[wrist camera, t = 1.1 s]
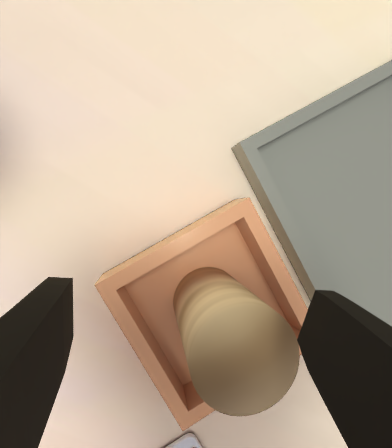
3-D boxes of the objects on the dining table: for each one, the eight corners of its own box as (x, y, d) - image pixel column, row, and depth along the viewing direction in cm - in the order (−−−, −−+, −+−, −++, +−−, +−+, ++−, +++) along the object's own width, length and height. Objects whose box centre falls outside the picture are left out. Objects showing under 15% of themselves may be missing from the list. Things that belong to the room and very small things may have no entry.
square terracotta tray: (299, 322, 21) (323, 340, 18) (177, 398, 20) (182, 431, 17) (234, 199, 20) (249, 197, 17) (103, 273, 19) (94, 285, 16)
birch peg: (252, 311, 20) (317, 376, 12) (194, 347, 20) (223, 438, 12) (220, 254, 20) (267, 282, 12) (160, 289, 19) (168, 343, 11)
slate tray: (501, 296, 24) (530, 302, 22) (358, 393, 22) (376, 409, 20) (397, 58, 22) (419, 44, 20) (231, 148, 20) (239, 142, 18)
